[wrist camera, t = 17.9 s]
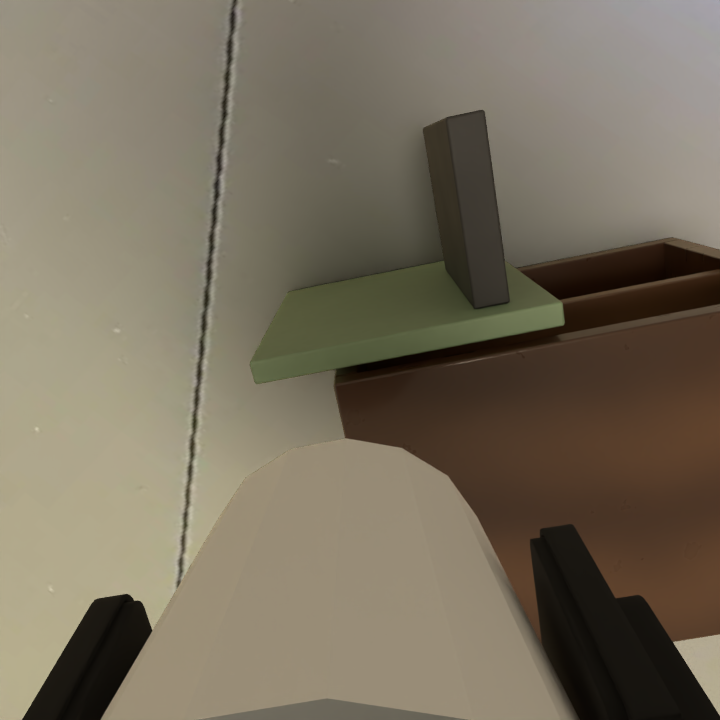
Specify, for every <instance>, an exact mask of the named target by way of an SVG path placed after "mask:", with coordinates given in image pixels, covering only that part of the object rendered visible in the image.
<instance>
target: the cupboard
mask: <svg viewBox="0 0 720 720" xmlns="http://www.w3.org/2000/svg"><path fill="white" fill-rule="evenodd" d="M516 269H517V270H519V271H520V272H521V273H523V274H524V275H525V276H527V277H528V278H530V279H531V280H532V281H534V282H535V283H536V284H538V285H539V286H540V287H542V288H543V289H545V290H546V291H547V292H549V293H550V294H551V295H553V296H554V297H556V298H557V299H558V300H560V301H561V302H562V303H563V311H564V320H565V323H564V325H563V326H559V327H554V328H549V329H544V330H538V331H533V332H528V333H523V334H517V335H512V336H507V337H502V338H497V339H491V340H486V341H481V342H476V343H470V344H465V345H460V346H455V347H449V348H444V349H439V350H434V351H428V352H423V353H418V354H413V355H407V356H402V357H397V358H392V359H387V360H381V361H376V362H371V363H366V364H360V365H355V366H350V367H345V368H339V369H336V370H335V380H334V391H335V395H336V400H337V404H338V408H339V413H340V417H341V422H342V426H343V430H344V435H345V438H347V439H353V440H359V441H364V442H370V443H376V444H382V445H387V446H393V447H399V448H403V449H404V450H406V451H408V452H409V453H411V454H413V455H414V456H416V457H417V458H419V459H421V460H422V461H424V462H426V463H427V464H429V465H431V466H432V467H434V468H436V469H437V470H439V471H441V472H442V473H444V474H446V475H447V476H448V477H449V478H450V480H451V481H452V482H453V484H454V485H455V487H456V488H457V489H458V491H459V492H460V494H461V495H462V496H463V498H464V499H465V501H466V502H467V503H468V505H469V506H470V508H471V509H472V510H473V512H474V513H475V515H476V516H477V518H478V520H479V522H480V524H481V526H482V528H483V530H484V532H485V534H486V536H487V538H488V539H489V541H490V543H491V545H492V547H493V549H494V551H495V553H496V555H497V557H498V559H499V561H500V563H501V565H502V567H503V569H504V571H505V573H506V575H507V577H508V579H509V581H510V583H511V585H512V587H513V589H514V591H515V593H516V595H517V597H518V599H519V601H520V603H521V605H522V607H523V609H524V611H525V613H526V615H527V617H528V619H529V621H530V623H531V625H532V626H533V628H534V630H535V632H536V634H537V636H538V638H539V640H540V642H541V644H542V641H541V633H540V624H539V616H538V608H537V600H536V591H535V583H534V575H533V567H532V558H531V550H530V539H533V538H540V529H542V528H548V527H554V526H561V525H567V524H573V525H574V527H575V528H576V530H577V532H578V533H579V535H580V537H581V539H582V540H583V542H584V544H585V546H586V547H587V549H588V551H589V553H590V554H591V556H592V558H593V560H594V561H595V563H596V565H597V567H598V568H599V570H600V572H601V574H602V575H603V577H604V579H605V581H606V582H607V584H608V586H609V588H610V589H611V591H612V593H613V595H614V596H615V598H621V597H627V596H634V595H640V596H642V597H643V598H644V599H645V600H646V602H647V603H648V604H649V606H650V607H651V609H652V610H653V612H654V614H655V615H656V617H657V618H658V620H659V621H660V623H661V625H662V626H663V628H664V629H665V631H666V632H667V634H668V636H669V637H670V639H671V640H672V642H675V641H681V640H687V639H694V638H700V637H706V636H712V635H719V634H720V250H719V249H715V248H711V247H707V246H704V245H700V244H696V243H692V242H688V241H685V240H681V239H677V238H673V237H672V238H667V239H662V240H656V241H651V242H646V243H641V244H636V245H631V246H626V247H621V248H616V249H611V250H606V251H601V252H596V253H591V254H586V255H580V256H575V257H570V258H565V259H560V260H555V261H550V262H545V263H540V264H535V265H530V266H525V267H520V268H516Z"/></svg>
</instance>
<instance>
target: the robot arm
mask: <svg viewBox="0 0 720 720" xmlns="http://www.w3.org/2000/svg"><path fill="white" fill-rule="evenodd" d="M530 550H531V558H532V567H533V575H534V583H535V591H536V600H537V608H538V616H539V624H540V633H541V641H542V646H543V648H544V650H545V652H546V654H547V656H548V658H549V660H550V662H551V664H552V666H553V668H554V670H555V672H556V674H557V676H558V678H559V680H560V682H561V684H562V686H563V688H564V690H565V692H566V694H567V696H568V698H569V700H570V702H571V704H572V706H573V708H574V710H575V712H576V713H577V715H578V717H579V719H580V720H720V716H719V714H718V712H717V711H716V709H715V708H714V706H713V705H712V703H711V701H710V700H709V698H708V697H707V695H706V694H705V692H704V691H703V689H702V687H701V686H700V684H699V683H698V681H697V680H696V678H695V676H694V675H693V673H692V672H691V670H690V669H689V667H688V665H687V664H686V662H685V661H684V659H683V658H682V656H681V654H680V653H679V651H678V650H677V648H676V647H675V645H674V643H673V642H672V640H671V639H670V637H669V636H668V634H667V632H666V631H665V629H664V628H663V626H662V625H661V623H660V621H659V620H658V618H657V617H656V615H655V614H654V612H653V610H652V609H651V607H650V606H649V604H648V603H647V602H646V600H645V599H644V598H643V597H642V596H640V595H634V596H627V597H621V598H615V596H614V595H613V593H612V591H611V589H610V588H609V586H608V584H607V582H606V581H605V579H604V577H603V575H602V574H601V572H600V570H599V568H598V567H597V565H596V563H595V561H594V560H593V558H592V556H591V554H590V553H589V551H588V549H587V547H586V546H585V544H584V542H583V540H582V539H581V537H580V535H579V533H578V532H577V530H576V528H575V527H574V525H573V524H567V525H561V526H554V527H548V528H542V529H540V538H533V539H530ZM151 633H152V629H151V626H150V623H149V620H148V617H147V614H146V611H145V608H144V606H143V604H142V603H141V602H140V601H134V600H133V598H132V597H131V596H130V595H128V594H124V595H117V596H111V597H105V598H99V599H96V600H94V602H93V603H92V604H91V606H90V607H89V609H88V611H87V612H86V614H85V616H84V617H83V619H82V621H81V622H80V624H79V626H78V627H77V629H76V631H75V632H74V634H73V636H72V637H71V639H70V641H69V642H68V644H67V646H66V647H65V649H64V651H63V652H62V654H61V656H60V657H59V659H58V661H57V662H56V664H55V666H54V667H53V669H52V671H51V672H50V674H49V676H48V677H47V679H46V681H45V682H44V684H43V686H42V687H41V689H40V691H39V692H38V694H37V696H36V697H35V699H34V701H33V702H32V704H31V706H30V707H29V709H28V711H27V713H26V714H25V716H24V718H23V719H22V720H101V718H102V716H103V715H104V713H105V711H106V710H107V708H108V706H109V704H110V703H111V701H112V699H113V698H114V696H115V694H116V692H117V691H118V689H119V687H120V686H121V684H122V682H123V680H124V679H125V677H126V675H127V674H128V672H129V670H130V669H131V667H132V665H133V663H134V662H135V660H136V658H137V657H138V655H139V653H140V651H141V650H142V648H143V646H144V645H145V643H146V641H147V639H148V638H149V636H150V634H151Z"/></svg>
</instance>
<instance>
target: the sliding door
mask: <svg viewBox="0 0 720 720" xmlns="http://www.w3.org/2000/svg"><path fill="white" fill-rule="evenodd" d="M423 134H424V140H425V146H426V152H427V158H428V164H429V171H430V177H431V183H432V189H433V195H434V201H435V208H436V214H437V220H438V226H439V232H440V238H441V245H442V251H443V257H444V261H440V262H435V263H430V264H425V265H420V266H415V267H410V268H405V269H400V270H395V271H390V272H385V273H380V274H375V275H370V276H365V277H360V278H355V279H350V280H345V281H340V282H335V283H330V284H325V285H320V286H315V287H309V288H304V289H299V290H294V291H289V292H288V293H287V295H286V296H285V298H284V300H283V302H282V304H281V306H280V308H279V309H278V311H277V313H276V315H275V317H274V319H273V321H272V322H271V324H270V326H269V328H268V330H267V332H266V334H265V335H264V337H263V339H262V341H261V343H260V345H259V347H258V348H257V350H256V352H255V354H254V356H253V358H252V360H251V361H250V367H251V371H252V374H253V378H254V382H255V383H256V384H261V383H266V382H271V381H277V380H282V379H287V378H292V377H298V376H303V375H308V374H313V373H318V372H324V371H329V370H334V369H339V368H345V367H350V366H355V365H360V364H366V363H371V362H376V361H381V360H387V359H392V358H397V357H402V356H407V355H413V354H418V353H423V352H428V351H434V350H439V349H444V348H449V347H455V346H460V345H465V344H470V343H476V342H481V341H486V340H491V339H497V338H502V337H507V336H512V335H517V334H523V333H528V332H533V331H538V330H544V329H549V328H554V327H559V326H563V325H564V323H565V320H564V311H563V303H562V302H561V301H560V300H558V299H557V298H556V297H554V296H553V295H551V294H550V293H549V292H547V291H546V290H545V289H543V288H542V287H540V286H539V285H538V284H536V283H535V282H534V281H532V280H531V279H530V278H528V277H527V276H525V275H524V274H523V273H521V272H520V271H519V270H517V269H516V268H514V267H513V266H512V265H510V264H509V263H508V262H506V261H505V259H504V252H503V244H502V237H501V229H500V222H499V214H498V207H497V199H496V192H495V185H494V177H493V170H492V162H491V155H490V147H489V140H488V132H487V125H486V117H485V112H484V110H478V111H474V112H469V113H464V114H460V115H455V116H450V117H447V118H444V119H442V120H440V121H438V122H435V123H433V124H431V125H429V126H427V127H424V128H423Z"/></svg>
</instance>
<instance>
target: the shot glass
mask: <svg viewBox="0 0 720 720" xmlns="http://www.w3.org/2000/svg"><path fill="white" fill-rule="evenodd" d="M101 720H580V719H579V717H578V715H577V713H576V712H575V710H574V708H573V706H572V704H571V702H570V700H569V698H568V696H567V694H566V692H565V690H564V688H563V686H562V684H561V682H560V680H559V678H558V676H557V674H556V672H555V670H554V668H553V666H552V664H551V662H550V660H549V658H548V656H547V654H546V652H545V650H544V648H543V646H542V644H541V642H540V640H539V638H538V636H537V634H536V632H535V630H534V628H533V626H532V625H531V623H530V621H529V619H528V617H527V615H526V613H525V611H524V609H523V607H522V605H521V603H520V601H519V599H518V597H517V595H516V593H515V591H514V589H513V587H512V585H511V583H510V581H509V579H508V577H507V575H506V573H505V571H504V569H503V567H502V565H501V563H500V561H499V559H498V557H497V555H496V553H495V551H494V549H493V547H492V545H491V543H490V541H489V539H488V538H487V536H486V534H485V532H484V530H483V528H482V526H481V524H480V522H479V520H478V518H477V516H476V515H475V513H474V512H473V510H472V509H471V508H470V506H469V505H468V503H467V502H466V501H465V499H464V498H463V496H462V495H461V494H460V492H459V491H458V489H457V488H456V487H455V485H454V484H453V482H452V481H451V480H450V478H449V477H448V476H447V475H446V474H444V473H442V472H441V471H439V470H437V469H436V468H434V467H432V466H431V465H429V464H427V463H426V462H424V461H422V460H421V459H419V458H417V457H416V456H414V455H413V454H411V453H409V452H408V451H406V450H404V449H403V448H399V447H393V446H387V445H382V444H376V443H370V442H364V441H359V440H353V439H347V438H345V439H340V440H335V441H329V442H324V443H319V444H314V445H308V446H303V447H298V448H293V449H290V450H288V451H287V452H285V453H283V454H282V455H280V456H279V457H277V458H276V459H274V460H272V461H271V462H269V463H268V464H266V465H265V466H263V467H261V468H260V469H258V470H257V471H255V472H254V473H252V474H250V475H249V476H247V477H246V478H245V479H244V481H243V482H242V484H241V485H240V487H239V488H238V490H237V491H236V493H235V494H234V496H233V497H232V499H231V500H230V502H229V503H228V505H227V506H226V508H225V509H224V511H223V512H222V514H221V515H220V517H219V518H218V520H217V522H216V523H215V525H214V527H213V528H212V530H211V532H210V534H209V535H208V537H207V539H206V540H205V542H204V544H203V546H202V547H201V549H200V551H199V552H198V554H197V556H196V557H195V559H194V561H193V563H192V564H191V566H190V568H189V569H188V571H187V573H186V575H185V576H184V578H183V580H182V581H181V583H180V585H179V587H178V588H177V590H176V592H175V593H174V595H173V597H172V598H171V600H170V602H169V604H168V605H167V607H166V609H165V610H164V612H163V614H162V616H161V617H160V619H159V621H158V622H157V624H156V626H155V628H154V629H153V631H152V633H151V634H150V636H149V638H148V639H147V641H146V643H145V645H144V646H143V648H142V650H141V651H140V653H139V655H138V657H137V658H136V660H135V662H134V663H133V665H132V667H131V669H130V670H129V672H128V674H127V675H126V677H125V679H124V680H123V682H122V684H121V686H120V687H119V689H118V691H117V692H116V694H115V696H114V698H113V699H112V701H111V703H110V704H109V706H108V708H107V710H106V711H105V713H104V715H103V716H102V718H101Z"/></svg>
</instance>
